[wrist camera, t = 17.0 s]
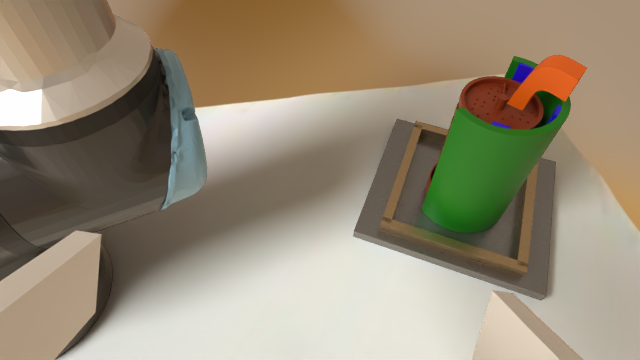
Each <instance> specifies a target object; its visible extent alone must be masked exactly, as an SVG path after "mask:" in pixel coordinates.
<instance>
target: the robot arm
mask: <svg viewBox="0 0 640 360" xmlns="http://www.w3.org/2000/svg"><path fill="white" fill-rule="evenodd" d="M206 177H207V163H206V155H205V149H204V144H203V139H202V134H201V130H200V126H199V122H198V119H197V116H196V115H195V108H194V105H193V99H192V95H191V92H190V88H189V85H188V81H187V78H186V75H185V73H184V70H183V67H182V65H181V63H180V61H179V59H178V56H177V55H176V53H175V52H173V51H172V50H169V49H158V48H156V49H153V47H152V44H151V41H150V39H149V37H148V35H147V34H146V33H145V31H144V30H143V29H142V28H140V27H139V26H138V25H136V24H134V23H132V22H130V21H128V20H125V19H123V18H121V17H119V16H116V15H114V14H113V13H112V10H111V8H110V6H109V4H108V1H107V0H0V360H55V358H57V357H59V356H60V355H62V354H63V353H64V352H66V351H67V350H68V349H70V348H71V347H72V346H73V345H75V344H76V343H77V342H78V341H79V340H80V339H81V338H82V337H83V336H84V335H85V334H86V333H87V332H88V331H89V329H90V328H91V327H92V326H93V324H94V323H95V322H96V320H97V318H98V317H99V315H100V314H101V312H102V310H103V308H104V306H105V304H106V302H107V299H108V296H109V293H110V289H111V284H112V264H111V260H110V257H109V255H108V252H107V251H106V249H105V247H104V246H103V245H102V244H101V234H97V233H94V232H97V231H100V230H103V229H106V228H109V227H112V226H115V225H117V224H120V223H123V222H126V221H129V220H132V219H135V218H138V217H141V216H144V215H147V214H150V213H153V212H156V211H160V210H164V209H166V208H167V207H168V206H169V205H171V204H173V203H175V202H178V201H180V200H182V199H185V198H187V197H189V196H192V195H194V194H196V193H197V192H198V191H199V190H201V188H202V187H203V186H204V184H205V181H206ZM472 360H583V359H582V358H581V357H580V356H579V355H577V354H576V353H575V352H574V351H573V350H572V349H571V348H570V347H569V346H568V345H567V344H566V343H565V342H564V341H563V340H562V339H561V338H560V337H558V336H557V335H556V334H555V333H554V332H553V331H552V330H551V329H550V328H549V327H548V326H547V325H546V324H545V323H544V322H543V321H542V320H540V319H539V318H538V317H537V316H536V315H535V314H534V313H533V312H532V311H531V310H530V309H529V308H528V307H527V306H526V305H525V304H524V303H523V302H521V301H520V300H519V299H518V298H517V297H516V296H515V295H514V294H513V293H506V292H499V291H492V294H491V297H490V301H489V304H488V307H487V311H486V314H485V317H484V321H483V324H482V328H481V331H480V334H479V338H478V341H477V344H476V348H475V351H474V355H473V358H472Z"/></svg>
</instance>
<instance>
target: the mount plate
mask: <svg viewBox="0 0 640 360" xmlns="http://www.w3.org/2000/svg"><path fill="white" fill-rule="evenodd" d="M447 133H448V130H447V129H443V128H440V127H436V126H432V125H428V124H425V123H421V122H417V121H416V122H415V124H414V123H410V122H407V121H403V120H399V119H397V120H396V123H395V125H394V128H393V131H392V133H391V136H390V138H389V141H388V144H387V146H386V149H385V151H384V154H383V157H382V159H381V162H380V165H379V167H378V170H377V172H376V175H375V178H374V180H373V183H372V185H371V188H370V191H369V193H368V196H367V198H366V201H365V204H364V206H363V209H362V211H361V214H360V217H359V219H358V222H357V224H356V227H355V230H354V234H353V236H354V237H357V238H360V239H363V240H366V241H369V242H372V243H375V244H378V245H381V246H383V247H386V248H389V249H392V250H395V251H398V252H401V253H404V254H407V255H410V256H413V257H416V258H419V259H422V260H425V261H427V262H430V263H433V264H436V265H439V266H442V267H445V268H448V269H451V270H454V271H457V272H460V273H463V274H466V275H469V276H471V277H474V278H477V279H480V280H483V281H486V282H489V283H492V284H495V285H498V286H501V287H504V288H507V289H510V290H513V291H515V292H518V293H521V294H524V295H527V296H530V297H533V298H536V299H539V300H542V299H543V298H544V297H546V292H547V278H548V264H549V250H550V236H551V221H552V207H553V193H554V179H555V165H556V162H554V161H550V160H546V159H543V158H540V159H539V161H538V162H537V164H536V165H535V167H534V168H533V170H532V171H531V173H530V174H529V176H528V177H527V179H526V180H525V182H524V183H523V185H522V186H521V188H520V189H519V191H518V192H517V194H516V195H515V197H514V198H513V200H512V201H511V203H510V204H509V206H508V207H507V209H506V210H505V212H504V213H503V215H502V216H501V218H500V219H499V220H498V222H497V223H496V224H494V225H493V226H492V227H490V228H488V229H486V230H483V231H480V232H475V233H462V232H456V231H452V230H449V229H446V228H444V227H442V226H440V225H438V224H436V223H435V222H433V221H432V220H431V219H430V218H429V217H427V216H426V214H425V213H424V212H423V211H422V207H423V204H424V201H425V198H426V184H427V181H428V178H429V175H430V172H431V170H432V168H433V167H434V165H435V164H436V163H437V162H438V159H439V156H440V153H441V151H442V147H443V144H444V142H445V140H446V136H447Z"/></svg>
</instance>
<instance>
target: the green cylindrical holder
mask: <svg viewBox="0 0 640 360" xmlns="http://www.w3.org/2000/svg"><path fill="white" fill-rule="evenodd" d="M586 69H587V68H586V67H584V66H583V65H581V64H579V63H578V62H576V61H574V60H572V59H570V58H568V57H565V56H562V55H553V56H550V57H548V58H546V59H545V60H543V61H542V62H541V63H540V64H539V65H538V64H536V63H534V62H531V61H528V60H526V59H523V58H520V57H516V56H514V58H513V60H512V62H511V64H510V67H509V69H508V71H507V73H506V75H505V78H504V77H496V76H489V77H482V78H478V79H475V80H473V81H471V82H469V83H468V84H467V85H466V86H465V87H464V88H463V90H462V93H461V95H460V98H459V103H458V104H457V107H456V110H455V113H454V116H453V119H452V121H451V124H450V128H449V130H448V133H447V136H446V140H445V142H444V144H443V147H442V151H441V153H440V156H439V159H438V162H437V163H436V164H435V165H434V167H433V168H432V170H431V172H430V175H429V178H428V181H427V184H426V198H425V201H424V204H423V207H422V211H423V212H424V213H425V214H426V216H427V217H429V218H430V219H431V220H432V221H433V222H435V223H436V224H438V225H440V226H442V227H444V228H446V229H449V230H452V231H456V232H462V233H475V232H480V231H483V230H486V229H488V228H490V227H492V226H493V225H494V224H496V223H497V222H498V220H499V219H500V218H501V216H502V215H503V213H504V212H505V210H506V209H507V207H508V206H509V204H510V203H511V201H512V200H513V198H514V197H515V195H516V194H517V192H518V191H519V189H520V188H521V186H522V185H523V183H524V182H525V180H526V179H527V177H528V176H529V174H530V173H531V171H532V170H533V168H534V167H535V165H536V164H537V162H538V161H539V159H540V158H541V156H542V155H543V153H544V152H545V150H546V149H547V147H548V146H549V144H550V143H551V141H552V140H553V138H554V137H555V135H556V134H557V132H558V131H559V129H560V128H561V126H562V124H563V123H564V121H565V120H566V118H567V117H568V115H569V112H570V106H571V103H570V98H569V95H570V94H571V92H572V91H573V89H574V88H575V86H576V85H577V83H578V82H579V80H580V78H581V77H582V75H583V74H584V72H585V70H586ZM499 87H500V88H499ZM490 89H491V90H490Z"/></svg>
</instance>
